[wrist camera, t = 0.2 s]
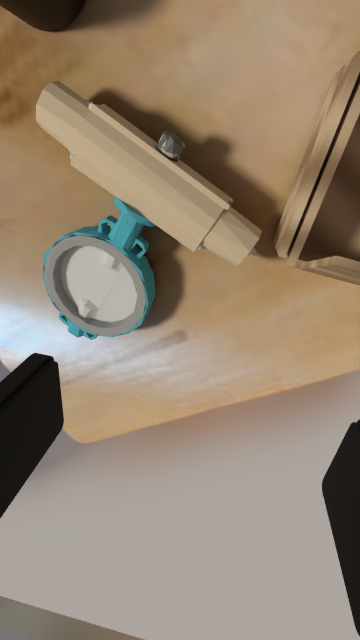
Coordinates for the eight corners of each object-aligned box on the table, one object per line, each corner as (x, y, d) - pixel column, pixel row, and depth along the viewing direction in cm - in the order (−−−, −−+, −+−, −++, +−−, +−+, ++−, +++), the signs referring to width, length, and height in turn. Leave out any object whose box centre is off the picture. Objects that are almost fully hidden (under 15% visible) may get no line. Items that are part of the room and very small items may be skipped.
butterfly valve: (155, 362, 51) (283, 210, 34) (141, 391, 45) (286, 227, 28) (15, 268, 48) (78, 52, 31) (-20, 287, 42) (35, 35, 25)
